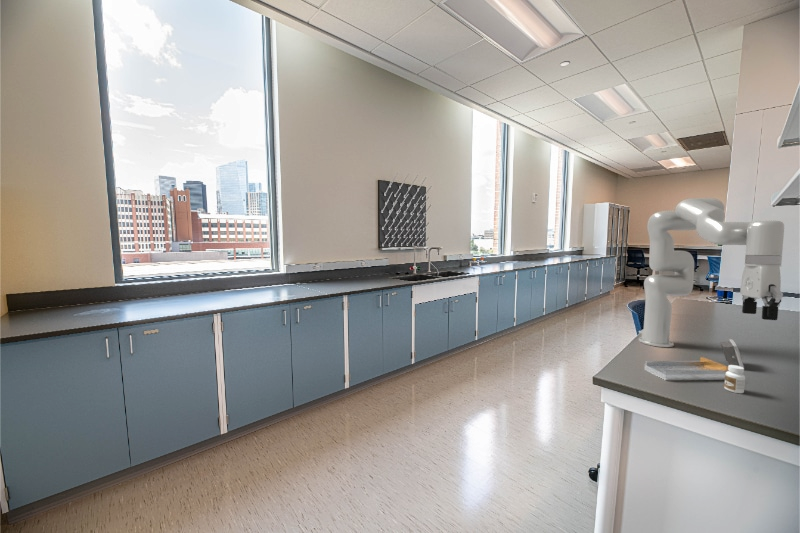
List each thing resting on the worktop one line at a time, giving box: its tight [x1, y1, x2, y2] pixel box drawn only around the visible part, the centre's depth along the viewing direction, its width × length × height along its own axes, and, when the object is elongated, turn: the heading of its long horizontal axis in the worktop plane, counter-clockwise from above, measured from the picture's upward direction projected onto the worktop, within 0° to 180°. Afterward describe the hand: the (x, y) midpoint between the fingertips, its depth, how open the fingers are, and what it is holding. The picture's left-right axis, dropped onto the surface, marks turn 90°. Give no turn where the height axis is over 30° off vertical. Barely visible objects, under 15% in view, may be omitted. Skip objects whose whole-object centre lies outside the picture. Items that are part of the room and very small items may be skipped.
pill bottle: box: [723, 364, 746, 394], centre depth 102 cm, size 4×4×8 cm
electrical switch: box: [720, 338, 745, 369], centre depth 123 cm, size 9×5×9 cm, turn 141°
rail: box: [644, 356, 729, 381], centre depth 114 cm, size 9×22×4 cm, turn 92°
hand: (758, 316), depth 101 cm, fingers open, 9 cm apart
